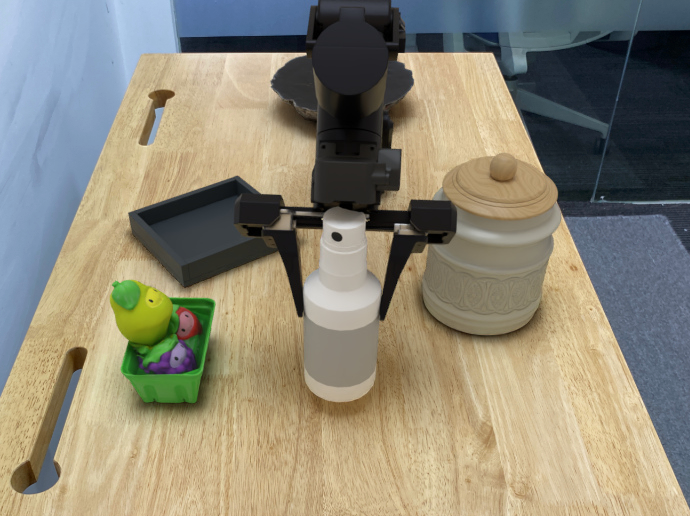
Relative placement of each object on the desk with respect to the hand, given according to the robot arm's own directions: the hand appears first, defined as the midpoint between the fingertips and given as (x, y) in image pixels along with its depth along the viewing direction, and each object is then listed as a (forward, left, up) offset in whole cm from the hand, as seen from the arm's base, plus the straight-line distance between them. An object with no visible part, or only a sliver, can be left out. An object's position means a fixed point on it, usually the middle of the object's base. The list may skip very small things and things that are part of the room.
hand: (340, 318), depth 67 cm
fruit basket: (+9, -15, -11) cm, 20 cm away
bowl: (-45, -46, -9) cm, 65 cm away
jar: (-23, -1, -11) cm, 25 cm away
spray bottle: (-1, -1, -9) cm, 9 cm away
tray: (-9, -31, -11) cm, 34 cm away
